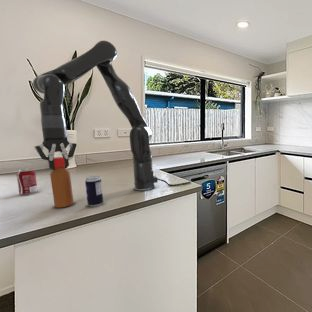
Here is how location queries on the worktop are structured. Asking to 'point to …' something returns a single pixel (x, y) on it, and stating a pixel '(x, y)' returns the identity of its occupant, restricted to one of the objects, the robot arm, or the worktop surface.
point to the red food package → (27, 181)
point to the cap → (59, 162)
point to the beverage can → (94, 190)
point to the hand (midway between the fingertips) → (59, 168)
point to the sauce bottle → (61, 187)
